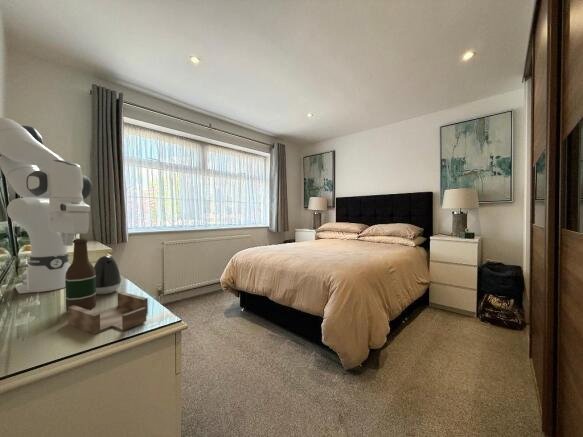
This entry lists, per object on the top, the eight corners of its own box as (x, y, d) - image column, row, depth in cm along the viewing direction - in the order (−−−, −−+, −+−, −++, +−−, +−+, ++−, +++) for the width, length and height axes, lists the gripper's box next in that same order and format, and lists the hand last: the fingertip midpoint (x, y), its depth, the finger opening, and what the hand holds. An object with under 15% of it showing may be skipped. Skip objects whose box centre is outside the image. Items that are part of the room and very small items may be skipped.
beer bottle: (101, 304, 85) (101, 237, 85) (80, 314, 77) (79, 240, 77) (82, 303, 86) (81, 237, 85) (59, 312, 78) (57, 240, 78)
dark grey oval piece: (96, 298, 91) (95, 259, 91) (85, 293, 97) (85, 256, 96) (126, 291, 100) (125, 255, 99) (114, 287, 105) (114, 252, 105)
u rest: (68, 323, 71) (67, 306, 70) (122, 306, 84) (122, 291, 84) (106, 340, 62) (106, 320, 62) (160, 317, 75) (160, 301, 75)
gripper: (41, 206, 86) (42, 244, 86) (69, 206, 77) (70, 248, 78) (64, 207, 92) (64, 242, 92) (92, 206, 83) (93, 246, 83)
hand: (67, 245), depth 85 cm, fingers closed
